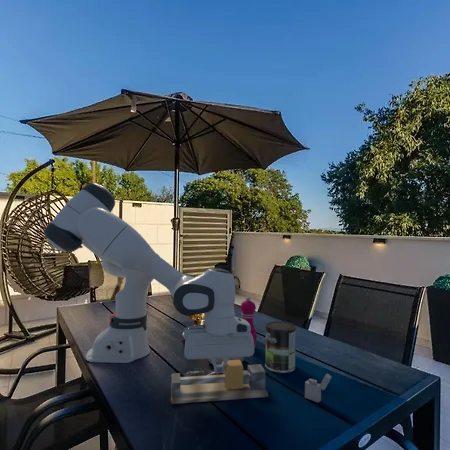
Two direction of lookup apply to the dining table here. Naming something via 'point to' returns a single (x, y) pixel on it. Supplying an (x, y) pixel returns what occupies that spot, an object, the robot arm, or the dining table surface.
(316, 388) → the lighter
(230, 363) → the tan wooden block
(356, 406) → the dining table surface
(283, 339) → the coffee can
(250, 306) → the pepper mill
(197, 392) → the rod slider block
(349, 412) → the dining table surface
